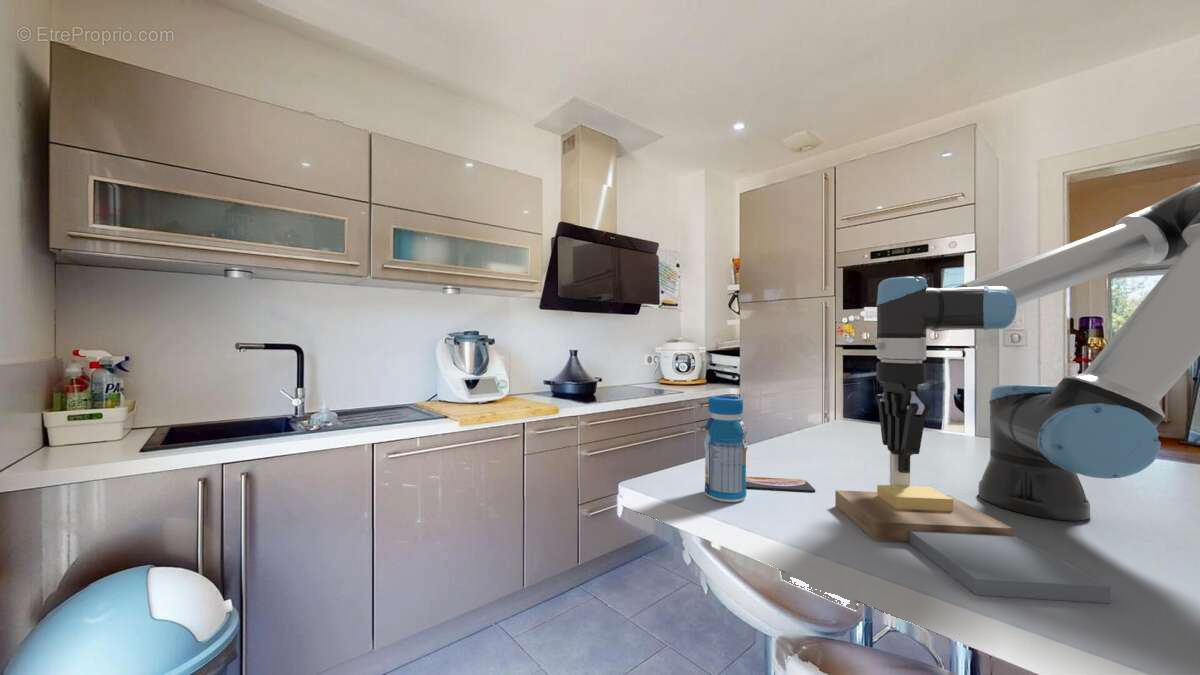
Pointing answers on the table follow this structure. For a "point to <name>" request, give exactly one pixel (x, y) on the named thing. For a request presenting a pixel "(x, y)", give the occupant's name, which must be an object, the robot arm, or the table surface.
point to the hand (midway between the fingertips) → (899, 488)
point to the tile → (914, 497)
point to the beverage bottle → (725, 450)
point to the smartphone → (778, 484)
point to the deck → (913, 518)
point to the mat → (1007, 567)
